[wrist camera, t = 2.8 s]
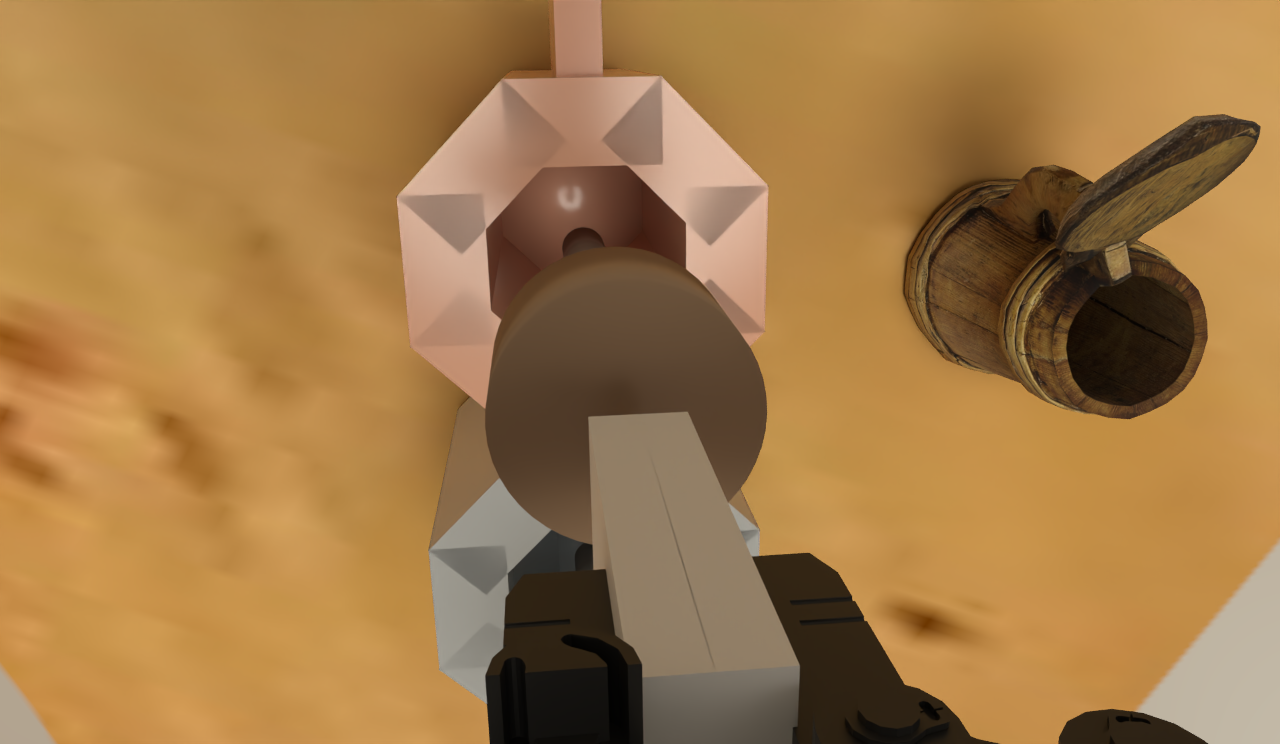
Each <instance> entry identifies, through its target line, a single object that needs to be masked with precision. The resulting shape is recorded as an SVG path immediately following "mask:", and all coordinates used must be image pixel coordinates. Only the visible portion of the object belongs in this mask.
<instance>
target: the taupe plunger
mask: <svg viewBox="0 0 1280 744" xmlns="http://www.w3.org/2000/svg"><path fill="white" fill-rule="evenodd" d="M562 251H563V258H562V259H560V260H558V261H556V262H554V263H552V264H550V265H549V266H547V267H546V268H544V269H543V270H542V271H540V272H539V273H537V274H536V275H535V276H534V277H533V278H532V279H531V280H529V281H528V282H527V283H526V284H525V285H524V286H523V287H522V289H521V290H520V291H519V292H518V293H517V295H516V296H515V297H514V298H513V300H512V302H511V303H510V305H509V306H508V308H507V310H506V311H505V313H504V316H503V318H502V320H501V322H500V325H499V327H498V331H497V334H496V338H495V341H494V348H493V355H492V362H491V370H490V377H489V385H488V393H487V400H486V408H485V430H486V438H487V445H488V448H489V452H490V455H491V459H492V462H493V464H494V467H495V469H496V471H497V473H498V476H499V478H500V479H501V481H502V482H503V484H504V486H505V487H506V489H507V490H508V492H509V493H510V494H511V496H512V497H513V498H514V499H515V500H516V502H517V503H518V504H519V505H520V506H521V507H522V508H523V509H524V510H525V511H526V512H527V513H528V514H530V515H531V516H532V517H533V518H534V519H536V520H537V521H539V522H540V523H542V524H543V525H544V526H546V527H547V528H549V529H551V530H553V531H555V532H557V533H559V534H561V535H563V536H566V537H568V538H571V539H574V540H576V541H580V542H584V543H588V544H592V545H593V542H592V512H591V482H590V452H589V422H588V417H592V416H612V415H631V414H651V413H671V412H688V414H689V416H690V418H691V420H692V423H693V425H694V427H695V429H696V432H697V434H698V436H699V438H700V441H701V443H702V445H703V448H704V450H705V452H706V454H707V457H708V459H709V461H710V463H711V466H712V468H713V470H714V472H715V475H716V477H717V479H718V481H719V484H720V486H721V488H722V491H723V493H724V495H725V497H726V500H727V502H729V501H730V500H731V499H732V498H733V497H734V496H735V495H736V493H737V492H738V491H739V490H740V488H741V487H742V485H743V484H744V482H745V481H746V480H747V478H748V476H749V474H750V472H751V471H752V469H753V467H754V465H755V463H756V460H757V458H758V455H759V452H760V450H761V447H762V443H763V439H764V434H765V429H766V419H767V401H766V392H765V386H764V381H763V377H762V374H761V371H760V368H759V365H758V362H757V360H756V358H755V356H754V354H753V352H752V350H751V348H750V347H749V345H748V344H747V342H746V341H745V339H744V338H743V336H742V335H741V333H740V332H739V331H738V329H737V328H736V327H735V325H734V324H733V323H732V321H731V320H730V319H729V317H728V316H727V314H726V313H725V312H724V310H723V309H722V308H721V306H720V305H719V304H718V302H717V301H716V300H715V298H714V297H713V296H712V294H711V293H710V292H709V290H708V289H707V288H706V287H705V286H704V285H703V284H702V283H701V281H700V280H699V279H698V278H696V277H695V276H694V275H693V274H692V273H690V272H689V271H688V270H687V269H685V268H684V267H682V266H680V265H679V264H677V263H676V262H674V261H672V260H670V259H668V258H666V257H663V256H661V255H659V254H656V253H653V252H649V251H646V250H642V249H636V248H630V247H605V245H604V242H603V239H602V238H601V236H600V235H599V234H598V233H597V232H596V231H595V230H593V229H590V228H586V227H580V228H576V229H574V230H572V231H571V232H569V233H568V234H567V236H566V237H565V239H564V241H563V245H562Z"/></svg>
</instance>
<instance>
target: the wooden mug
mask: <svg viewBox="0 0 1280 744" xmlns="http://www.w3.org/2000/svg"><path fill="white" fill-rule="evenodd" d="M1260 127H1261V126H1259V125H1258V124H1257V123H1255V122H1253V121H1247V120H1242V119H1237V118H1234V117H1231V116H1228V115H1225V114H1220V115H1208V116H1194V117H1192V118H1191V119H1189V120H1188V121H1186V122H1184V123H1183V124H1181V125H1180V126H1178V127H1177V128H1175V129H1173V130H1172V131H1170V132H1169V133H1167V134H1166V135H1164V136H1162V137H1161V138H1159V139H1158V140H1156V141H1155V142H1153V143H1152V144H1150V145H1149V146H1147V147H1146V148H1144V149H1143V150H1141V151H1140V152H1138V153H1137V154H1135V155H1134V156H1132V157H1131V158H1129V159H1128V160H1126V161H1125V162H1123V163H1122V164H1120V165H1119V166H1117V167H1116V168H1114V169H1113V170H1111V171H1110V172H1108V173H1106V174H1105V175H1104V176H1102V177H1101V178H1100V179H1098V180H1097V181H1096V182H1094V183H1093V182H1091V181H1089V180H1087V179H1086V178H1084V177H1082V176H1080V175H1079V174H1077V173H1075V172H1073V171H1071V170H1068V169H1065V168H1062V167H1059V166H1056V165H1049V166H1042V167H1035V168H1032V169H1031V170H1030V171H1029V172H1028V173H1027V174H1026V175H1025V176H1024V177H1023V178H1022V179H1021V180H1012V179H1003V180H995V181H987V182H984V183H980V184H977V185H974V186H971V187H969V188H967V189H965V190H964V191H962V192H960V193H958V194H957V195H956V196H955V197H953V198H952V199H951V200H950V201H949V202H948V203H947V204H945V205H944V206H943V207H942V208H941V209H940V210H939V211H938V212H937V213H936V214H935V216H934V217H933V218H932V219H931V221H930V222H929V223H928V224H927V226H926V227H925V228H924V229H923V231H922V232H921V233H920V235H919V237H918V239H917V241H916V243H915V245H914V247H913V249H912V251H911V253H910V255H909V257H908V263H907V272H906V282H905V292H904V294H905V296H906V299H907V302H908V304H909V307H910V310H911V312H912V315H913V317H914V319H915V321H916V323H917V326H918V327H919V328H920V330H921V331H922V332H923V334H924V335H925V336H926V337H927V339H928V340H929V341H930V342H931V344H932V345H933V346H934V347H935V348H936V349H937V350H938V351H939V353H940V354H941V355H942V356H943V357H944V358H945V359H946V360H948V361H950V362H953V363H955V364H958V365H961V366H963V367H966V368H969V369H972V370H976V371H980V372H984V373H988V374H998V375H1000V376H1003V377H1006V378H1009V379H1011V380H1014V381H1017V382H1019V383H1021V384H1022V385H1023V386H1024V387H1025V388H1026V390H1027V391H1029V392H1030V393H1032V394H1034V395H1035V396H1037V397H1038V398H1040V399H1042V400H1044V401H1046V402H1048V403H1050V404H1053V405H1055V406H1058V407H1060V408H1062V409H1066V410H1070V411H1074V412H1079V413H1083V414H1097V415H1101V416H1105V417H1108V418H1120V419H1131V418H1134V417H1137V416H1139V415H1142V414H1145V413H1147V412H1150V411H1152V410H1154V409H1156V408H1158V407H1160V406H1162V405H1164V404H1166V403H1168V402H1169V401H1170V400H1171V399H1173V398H1174V397H1175V396H1177V395H1178V394H1179V393H1180V392H1182V391H1183V390H1184V388H1185V387H1186V386H1187V384H1188V383H1189V382H1190V381H1191V379H1192V378H1193V377H1194V375H1195V373H1196V370H1197V368H1198V366H1199V364H1200V361H1201V359H1202V356H1203V353H1204V349H1205V346H1206V342H1207V339H1208V336H1207V319H1206V313H1205V307H1204V304H1203V301H1202V299H1201V296H1200V293H1199V290H1198V289H1197V288H1196V287H1195V286H1194V285H1193V284H1192V283H1191V281H1190V280H1189V279H1188V278H1187V277H1186V276H1185V275H1184V274H1182V273H1181V272H1180V271H1179V270H1178V269H1177V267H1176V266H1175V265H1174V264H1173V263H1172V262H1171V260H1170V259H1169V258H1167V257H1166V256H1165V255H1163V254H1162V253H1161V252H1159V251H1158V250H1156V249H1154V248H1152V247H1150V246H1148V245H1146V244H1144V243H1142V242H1140V241H1138V239H1139V238H1140V237H1141V236H1142V235H1143V234H1144V233H1146V232H1147V231H1149V230H1151V229H1152V228H1154V227H1155V226H1157V225H1158V224H1160V223H1162V222H1163V221H1165V220H1167V219H1168V218H1170V217H1172V216H1173V215H1175V214H1177V213H1178V212H1180V211H1181V210H1183V209H1184V208H1186V207H1187V206H1189V205H1190V204H1191V203H1193V202H1194V201H1196V200H1197V199H1199V198H1200V197H1202V196H1203V195H1204V194H1206V193H1207V192H1209V191H1210V190H1212V189H1213V188H1214V187H1216V186H1217V185H1218V184H1219V183H1220V182H1222V181H1223V180H1224V179H1225V178H1226V177H1227V176H1229V175H1230V174H1231V173H1232V172H1233V171H1234V170H1235V169H1236V168H1237V167H1239V166H1240V165H1241V164H1242V163H1243V162H1244V161H1245V160H1246V158H1247V157H1248V156H1249V154H1250V153H1251V152H1252V150H1253V148H1254V147H1255V145H1256V143H1257V140H1258V137H1259V134H1260Z"/></svg>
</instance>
